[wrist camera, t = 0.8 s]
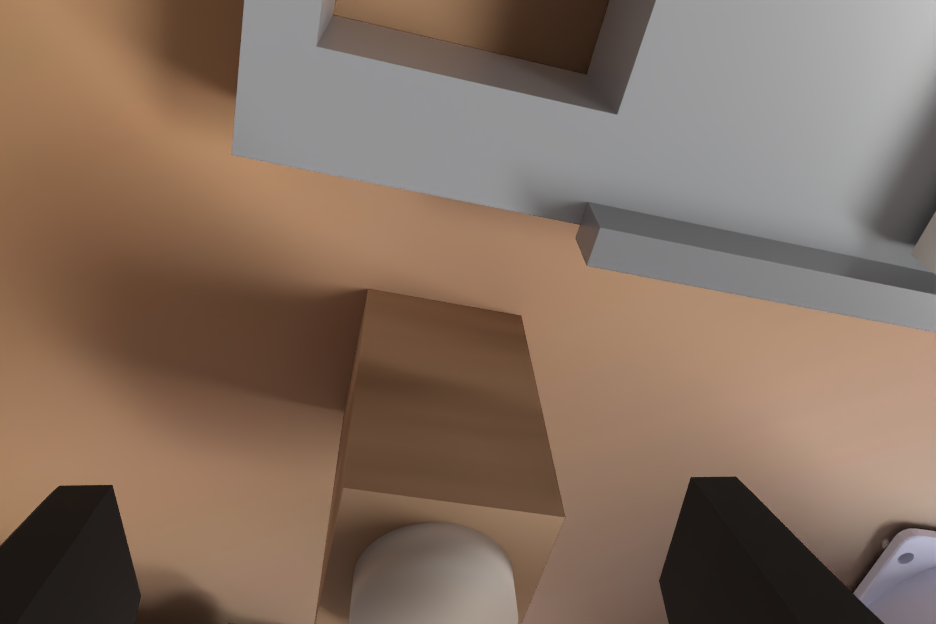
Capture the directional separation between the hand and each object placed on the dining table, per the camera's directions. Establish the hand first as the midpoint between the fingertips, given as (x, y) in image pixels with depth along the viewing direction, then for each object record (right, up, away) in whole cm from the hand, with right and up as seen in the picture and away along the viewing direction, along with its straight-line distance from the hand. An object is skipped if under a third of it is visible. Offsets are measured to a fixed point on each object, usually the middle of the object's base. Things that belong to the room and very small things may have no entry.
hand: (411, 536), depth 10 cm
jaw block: (0, +1, +11) cm, 11 cm away
